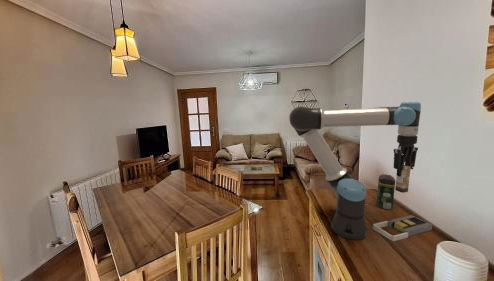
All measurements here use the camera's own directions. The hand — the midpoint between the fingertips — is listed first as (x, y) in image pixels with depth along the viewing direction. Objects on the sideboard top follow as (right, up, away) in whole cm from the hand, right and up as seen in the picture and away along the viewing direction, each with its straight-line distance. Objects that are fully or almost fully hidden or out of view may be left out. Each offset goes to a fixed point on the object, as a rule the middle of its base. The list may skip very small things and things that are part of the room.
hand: (402, 181), depth 99 cm
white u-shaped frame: (-12, -22, -7) cm, 26 cm away
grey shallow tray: (0, -22, -3) cm, 22 cm away
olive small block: (0, -21, -4) cm, 22 cm away
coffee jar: (+3, -18, +18) cm, 26 cm away
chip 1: (-5, -22, -5) cm, 23 cm away
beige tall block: (0, -5, +1) cm, 5 cm away
